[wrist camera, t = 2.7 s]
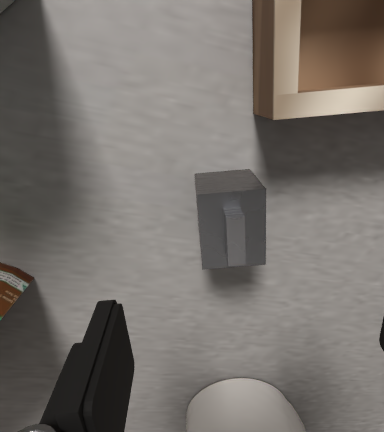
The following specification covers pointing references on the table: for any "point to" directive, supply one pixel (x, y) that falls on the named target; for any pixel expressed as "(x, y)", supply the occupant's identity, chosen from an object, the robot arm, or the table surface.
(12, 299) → the food container
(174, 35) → the table surface
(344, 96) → the open wooden box
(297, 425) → the toilet tissue
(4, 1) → the skincare box
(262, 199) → the grey ridged block
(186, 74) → the table surface
